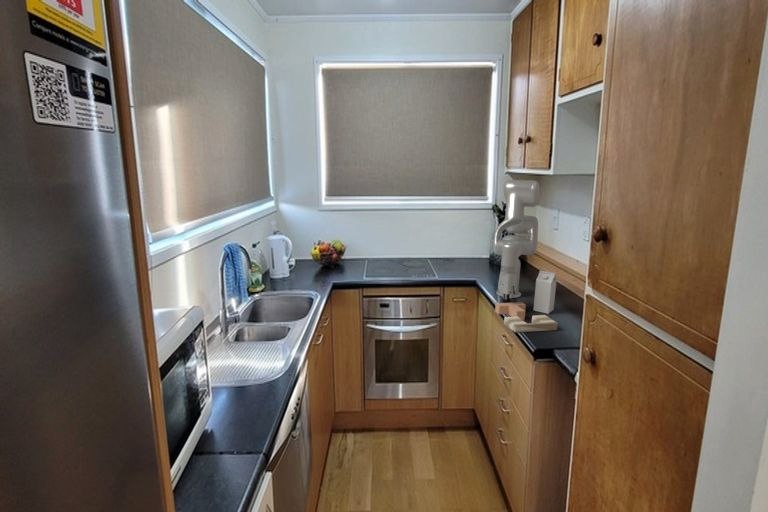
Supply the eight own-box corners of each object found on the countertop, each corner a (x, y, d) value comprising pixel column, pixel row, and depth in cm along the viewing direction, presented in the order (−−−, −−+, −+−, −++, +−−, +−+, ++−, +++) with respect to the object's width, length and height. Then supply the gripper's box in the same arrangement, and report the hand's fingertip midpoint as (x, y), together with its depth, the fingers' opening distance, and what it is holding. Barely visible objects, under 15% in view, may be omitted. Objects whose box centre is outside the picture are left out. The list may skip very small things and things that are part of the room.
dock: (504, 323, 189) (504, 317, 188) (544, 321, 192) (544, 314, 191) (514, 332, 179) (515, 325, 178) (557, 329, 182) (557, 323, 182)
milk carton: (538, 307, 211) (542, 269, 207) (553, 310, 207) (557, 271, 203) (533, 310, 206) (536, 271, 202) (548, 314, 201) (552, 274, 197)
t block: (495, 311, 204) (495, 303, 203) (520, 310, 206) (521, 302, 206) (506, 320, 192) (507, 311, 192) (533, 319, 195) (534, 310, 194)
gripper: (494, 265, 210) (492, 302, 213) (508, 273, 195) (505, 312, 199) (509, 265, 211) (506, 301, 215) (524, 273, 197) (520, 311, 200)
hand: (506, 306), depth 207 cm, fingers closed
